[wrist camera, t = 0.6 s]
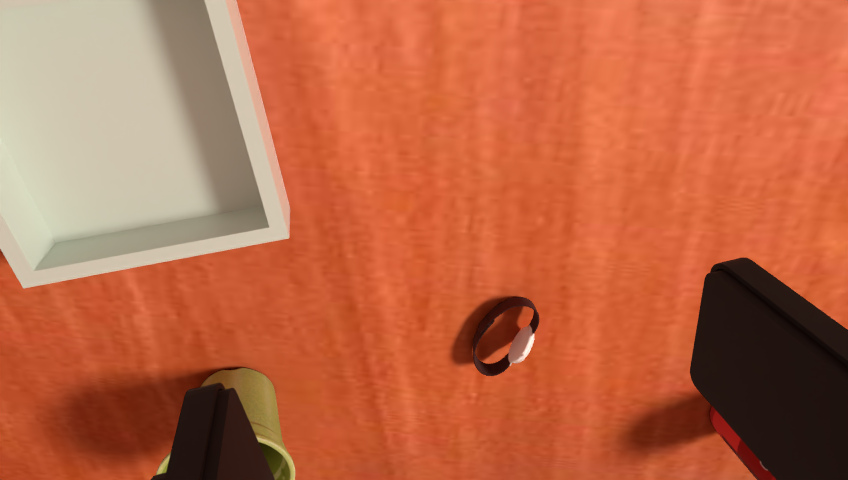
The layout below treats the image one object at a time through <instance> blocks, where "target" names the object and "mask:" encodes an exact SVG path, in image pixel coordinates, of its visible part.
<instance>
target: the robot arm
mask: <svg viewBox="0 0 848 480" xmlns="http://www.w3.org/2000/svg"><path fill="white" fill-rule="evenodd" d="M690 375H691V378H692V381H693V383H694V385H695V387H696V388H697V389H698V390H699V392H700V393H701V394H702V395H703V396H704V397H705V398H706V400H707V401H708V402H709V403H710V404H711V405H712V406H713V408H714V409H715V410H716V411H717V412H718V413H719V414H720V416H721V417H722V418H723V419H724V420H725V421H726V422H727V424H728V425H729V426H730V427H731V428H732V429H733V430H734V432H735V433H736V434H737V435H738V436H739V437H740V439H741V440H742V441H743V442H744V443H745V444H746V445H747V447H748V448H749V449H750V450H751V451H752V452H753V453H754V455H755V456H756V457H757V458H758V459H759V460H760V461H761V463H762V464H763V465H764V466H765V467H766V468H767V469H768V471H769V472H770V473H771V474H772V475H773V476H774V477H775V479H776V480H848V330H847V329H846V328H844V327H843V326H842V325H840V324H839V323H837V322H836V321H835V320H833V319H832V318H831V317H829V316H828V315H826V314H825V313H824V312H822V311H821V310H819V309H818V308H817V307H815V306H814V305H813V304H811V303H810V302H808V301H807V300H806V299H804V298H803V297H802V296H800V295H799V294H797V293H796V292H795V291H793V290H792V289H791V288H789V287H788V286H786V285H785V284H784V283H782V282H781V281H780V280H778V279H777V278H775V277H774V276H773V275H771V274H770V273H768V272H767V271H766V270H764V269H763V268H762V267H760V266H759V265H757V264H756V263H755V262H753V261H752V260H750V259H748V258H738V259H734V260H730V261H726V262H722V263H718V264H715V265H714V266H713V267H712V269H711V272H710V273H708V274H707V275H706V277H705V281H704V287H703V293H702V299H701V305H700V312H699V318H698V324H697V330H696V336H695V342H694V349H693V355H692V361H691V367H690ZM151 480H275V479H274V476H273V474H272V472H271V469H270V467H269V465H268V462H267V460H266V458H265V456H264V453H263V451H262V449H261V446H260V444H259V442H258V440H257V437H256V435H255V433H254V431H253V428H252V426H251V424H250V421H249V419H248V417H247V415H246V412H245V410H244V408H243V405H242V403H241V401H240V399H239V396H238V394H237V392H236V390H235V389H234V388H229V389H225V387H224V385H223V384H222V383H215V384H211V385H207V386H202V387H198V388H194V389H190V390H188V391H187V392H186V394H185V397H184V401H183V405H182V409H181V413H180V417H179V421H178V426H177V430H176V434H175V438H174V442H173V446H172V450H171V454H170V458H169V462H168V466H167V470H166V472H165V473H161V474H158V475H155V476H153V478H152V479H151Z"/></svg>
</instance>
